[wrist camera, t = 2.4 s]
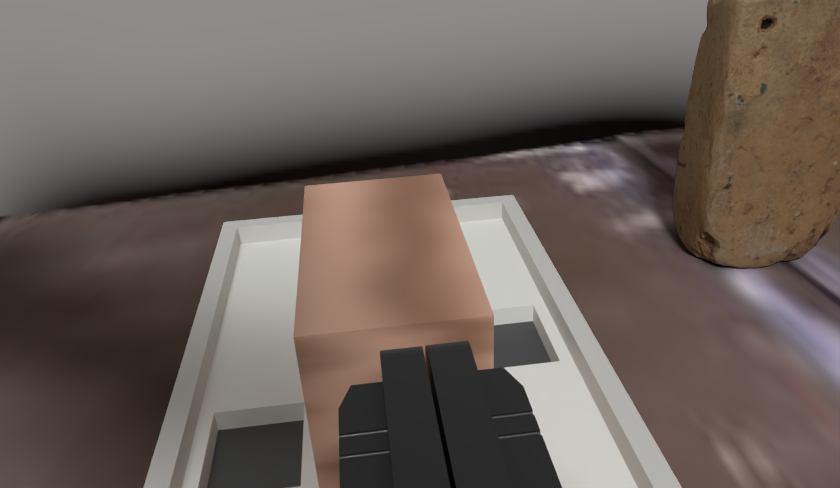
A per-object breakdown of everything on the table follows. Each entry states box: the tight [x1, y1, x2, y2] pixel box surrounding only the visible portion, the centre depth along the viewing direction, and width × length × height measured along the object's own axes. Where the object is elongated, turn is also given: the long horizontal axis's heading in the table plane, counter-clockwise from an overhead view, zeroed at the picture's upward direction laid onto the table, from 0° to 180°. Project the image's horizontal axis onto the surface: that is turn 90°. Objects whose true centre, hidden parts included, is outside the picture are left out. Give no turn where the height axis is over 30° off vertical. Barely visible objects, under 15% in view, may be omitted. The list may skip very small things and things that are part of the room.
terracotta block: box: [293, 174, 494, 488], centre depth 32 cm, size 7×13×12 cm, turn 7°
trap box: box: [143, 195, 682, 488], centre depth 43 cm, size 24×32×3 cm
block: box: [673, 0, 840, 268], centre depth 49 cm, size 11×8×20 cm
